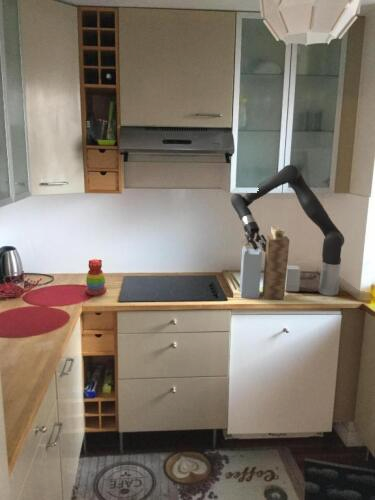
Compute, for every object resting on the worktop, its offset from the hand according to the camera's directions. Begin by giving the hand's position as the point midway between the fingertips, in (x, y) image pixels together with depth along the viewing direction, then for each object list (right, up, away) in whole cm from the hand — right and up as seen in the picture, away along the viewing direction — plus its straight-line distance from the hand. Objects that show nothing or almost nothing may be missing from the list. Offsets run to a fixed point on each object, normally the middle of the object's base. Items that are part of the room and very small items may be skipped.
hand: (261, 250), depth 226 cm
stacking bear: (-86, -22, 0) cm, 89 cm away
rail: (+7, +7, -6) cm, 11 cm away
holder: (-6, -23, +3) cm, 24 cm away
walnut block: (+6, -25, -1) cm, 25 cm away
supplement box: (+18, -22, +12) cm, 31 cm away
